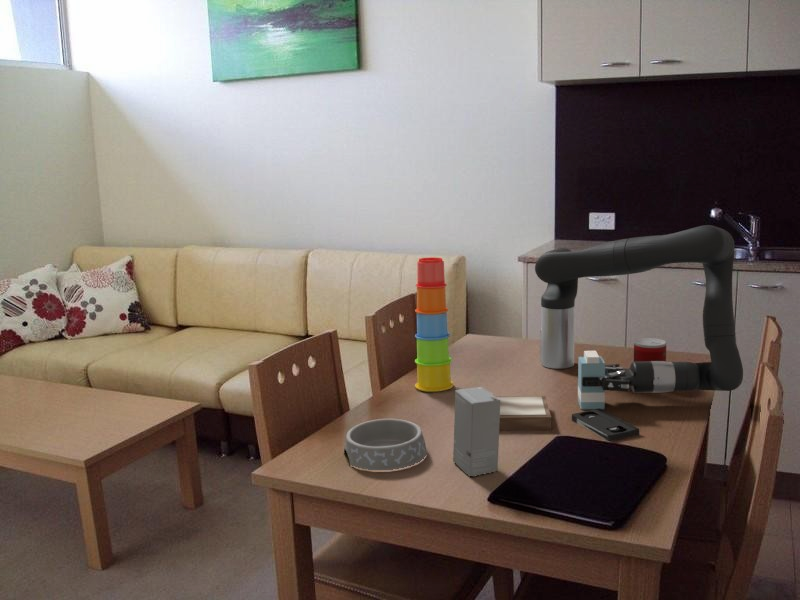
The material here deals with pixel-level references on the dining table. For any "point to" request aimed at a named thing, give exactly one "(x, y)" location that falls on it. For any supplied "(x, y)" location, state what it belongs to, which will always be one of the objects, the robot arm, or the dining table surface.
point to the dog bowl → (385, 444)
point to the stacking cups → (432, 327)
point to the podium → (524, 413)
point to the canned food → (649, 349)
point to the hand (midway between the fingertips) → (580, 377)
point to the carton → (590, 368)
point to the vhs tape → (605, 424)
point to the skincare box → (476, 431)
